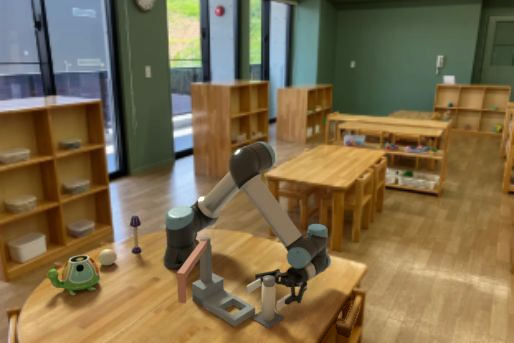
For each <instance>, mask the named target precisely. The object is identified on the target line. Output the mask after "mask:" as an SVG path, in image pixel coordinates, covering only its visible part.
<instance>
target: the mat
mask: <svg viewBox="0 0 514 343" xmlns="http://www.w3.org/2000/svg"><path fill="white" fill-rule="evenodd" d="M250 317H251V318H250V319H252V320H253V321H255V322H256V323H258V324H260V325H261V326H263V327H265V328H267V329H268V330H270V329H271V328H273V327H275V325H277V324H278V323H280V322H281V321H282V320H284V319H285V316H284V315H282V314H280V313H278V312H277V311H275V318H274V320H272V321H264V320H263V319H262V318H261V310H260V311H258V312H257V313H255V314H253V315H252V316H250Z"/></svg>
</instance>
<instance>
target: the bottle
mask: <svg viewBox="0 0 514 343" xmlns="http://www.w3.org/2000/svg"><path fill="white" fill-rule="evenodd" d="M276 286H277V283H275V277H273V276H271V275H267V276H264V277H263V282H262V284H261V309H260V311H261V318H262V319H263V320H264V321H272V320H274V318H275V312H276V310H275V309H276V289H277V288H276Z"/></svg>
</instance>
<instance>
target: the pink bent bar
mask: <svg viewBox="0 0 514 343" xmlns="http://www.w3.org/2000/svg"><path fill="white" fill-rule="evenodd" d="M199 239H200V241H199V243H198V244H197V245H196V248H195V249H194V251H193V252H192V253H191V255H190V256H189V257H188V259H187V260H186V261H185V263H184V264H183V265H182V267H181V268H180V270H177V272H176V276H177V277H176V278H177V279H176V280H177V300H178V304H186V303H187V277H188V276H189V274H190V273H191V272H192V270H193V269H194V267H195V266H196V265H195V264H196V263H197V261H198V260H199V261H200V257H201V256H202V254H203V253H204V251H205V250H206V248H207V247H210V246H211V247H212V244H211V237H209V236H202V237H200V238H199Z"/></svg>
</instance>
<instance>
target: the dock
mask: <svg viewBox="0 0 514 343" xmlns="http://www.w3.org/2000/svg"><path fill="white" fill-rule="evenodd" d="M212 249H213V248H212V245H211V246H210V247H207V248H206V250H205V251H204V253H203V254H202V256H201V257H200V258H199V275H200V276H199V278H200V279H197V280H196V281H194V282H192V283H191V288H192V290H191V292H192V293H191V295H192V301H193V302H195V303H197V304H198V305H199V306H201V307H203V308H204V309H206V310H207V311H209V312H211V314H214V315H215V316H217V317H219V318H220V319H222V320H223V321H224V322H225V321H226V323H228V324H230V325H231V326H233V327H237V326H238V325H239V324H241V323H243V322H244V321H246V320H247V319H249V318H250V317H253V316H254V315H256V306H254V305H252V304H251V303H248V302H247V301H245V300H244V299H241V298H239V297H237V296H236V295H235V294H232V293H231V292H229V291H227V290H225V287H224V286H225V284H224V283H225V282H224V281H225V278H224V277H221V276H220V275H217V274H216V273H214V272H213V266H212V265H213V264H212V263H213V260H212V253H213V252H212ZM233 305H234V306H236V307H237V308H239V310H238V311H237V312H235V313H234V314H232V313H231V312H228V311H227V310H226V309H227V308H229V307H231V306H233Z"/></svg>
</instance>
